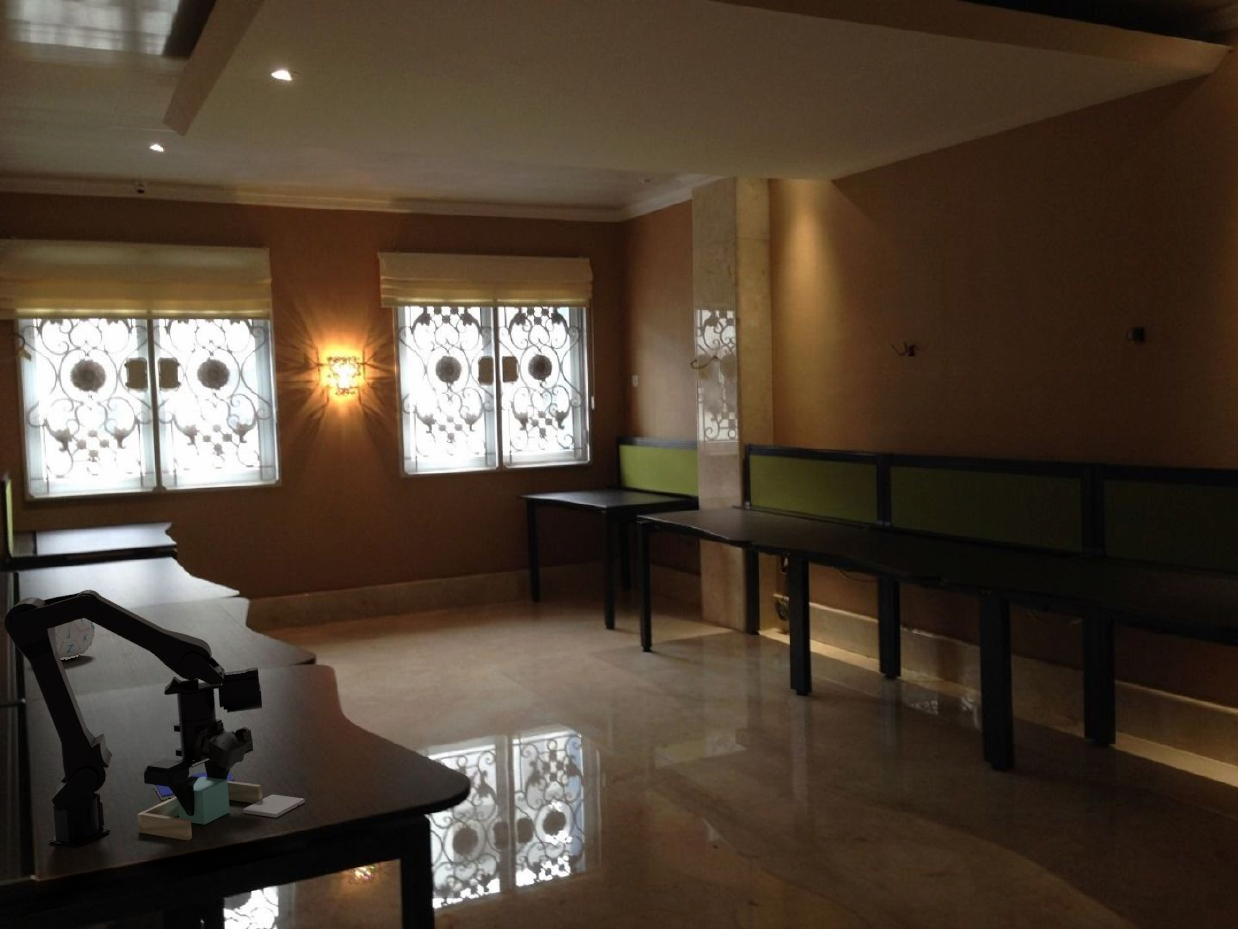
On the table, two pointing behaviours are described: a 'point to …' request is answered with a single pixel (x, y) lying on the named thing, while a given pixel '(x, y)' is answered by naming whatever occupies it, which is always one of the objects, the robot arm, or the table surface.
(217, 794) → the block
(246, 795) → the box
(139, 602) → the table surface
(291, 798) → the pad
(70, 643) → the puzzle ball
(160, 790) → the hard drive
